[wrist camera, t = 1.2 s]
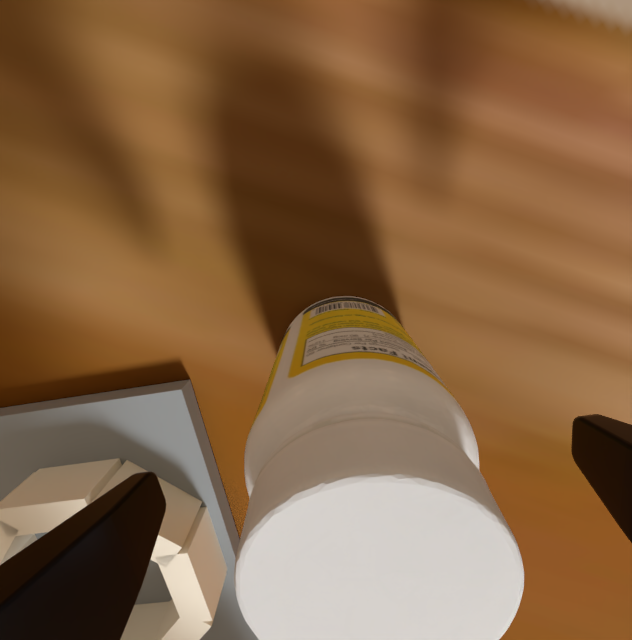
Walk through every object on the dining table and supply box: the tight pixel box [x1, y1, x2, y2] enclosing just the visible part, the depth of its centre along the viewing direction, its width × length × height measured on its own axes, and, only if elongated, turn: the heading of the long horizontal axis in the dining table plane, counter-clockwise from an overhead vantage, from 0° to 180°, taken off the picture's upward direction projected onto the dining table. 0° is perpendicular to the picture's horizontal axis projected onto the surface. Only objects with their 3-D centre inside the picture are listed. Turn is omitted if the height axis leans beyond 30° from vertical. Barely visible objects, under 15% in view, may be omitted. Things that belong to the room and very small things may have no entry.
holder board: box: [0, 379, 259, 640], centre depth 14 cm, size 14×10×3 cm
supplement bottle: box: [234, 296, 524, 640], centre depth 9 cm, size 5×5×8 cm
